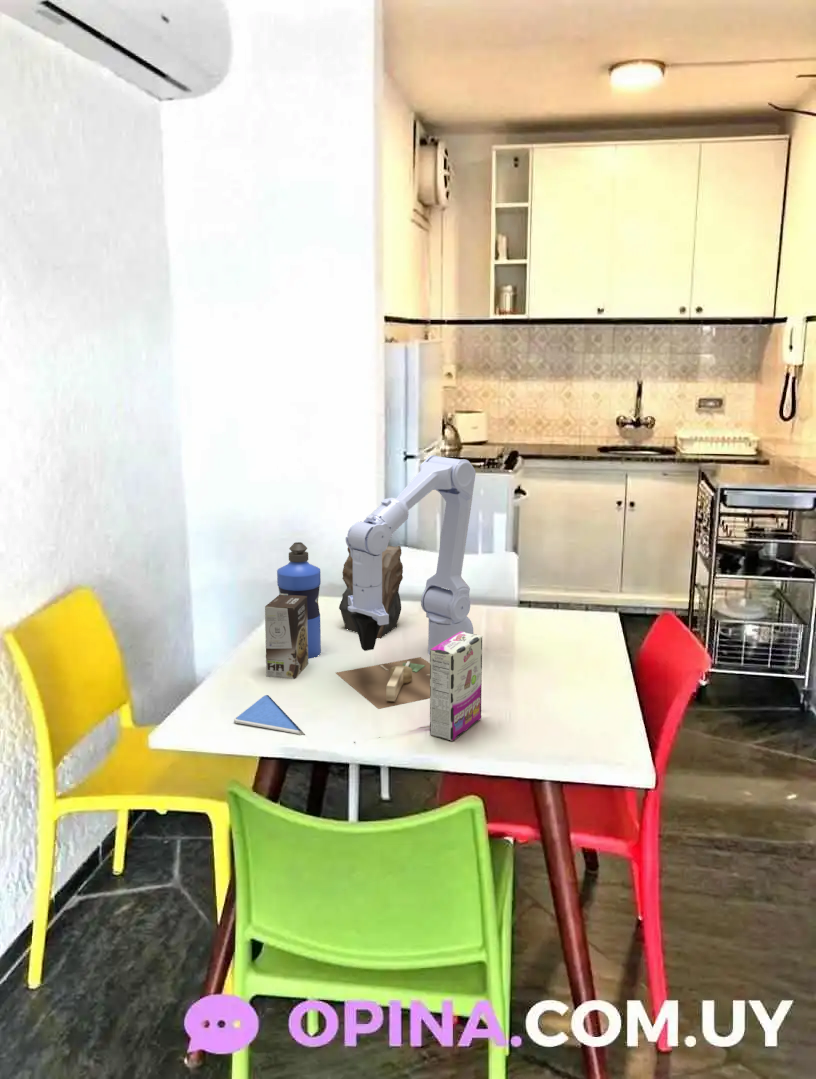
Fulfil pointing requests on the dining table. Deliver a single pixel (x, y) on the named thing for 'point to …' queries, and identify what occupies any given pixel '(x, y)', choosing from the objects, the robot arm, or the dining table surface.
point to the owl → (390, 589)
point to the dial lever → (397, 680)
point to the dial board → (377, 677)
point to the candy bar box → (455, 685)
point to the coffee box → (286, 636)
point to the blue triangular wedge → (267, 716)
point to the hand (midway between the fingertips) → (367, 649)
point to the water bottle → (303, 591)
